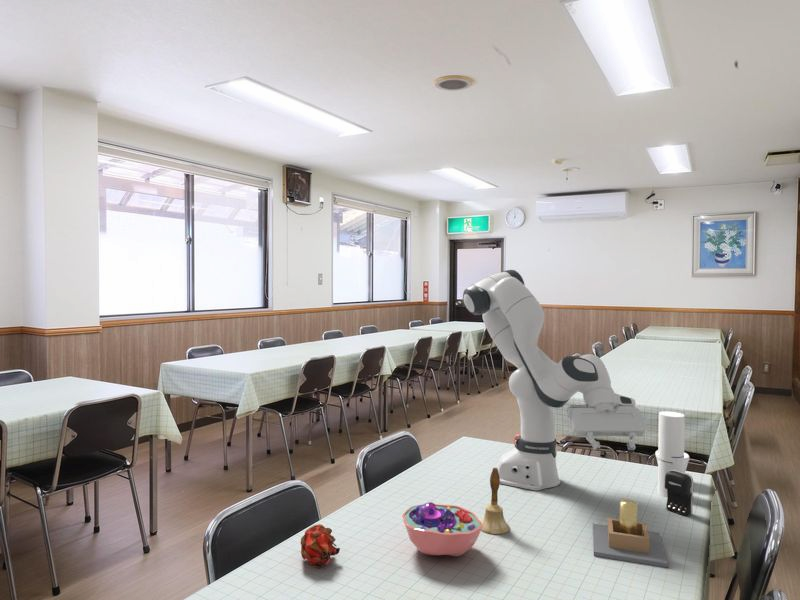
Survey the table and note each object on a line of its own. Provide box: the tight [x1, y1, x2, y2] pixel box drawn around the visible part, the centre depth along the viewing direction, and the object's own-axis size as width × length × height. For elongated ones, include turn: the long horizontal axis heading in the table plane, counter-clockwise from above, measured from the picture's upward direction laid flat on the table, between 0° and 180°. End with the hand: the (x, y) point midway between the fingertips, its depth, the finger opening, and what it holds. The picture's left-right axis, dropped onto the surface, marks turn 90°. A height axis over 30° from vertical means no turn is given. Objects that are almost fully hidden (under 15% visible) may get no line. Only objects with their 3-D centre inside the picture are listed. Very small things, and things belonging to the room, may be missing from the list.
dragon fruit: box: [300, 523, 341, 569], centre depth 124 cm, size 8×8×12 cm
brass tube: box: [619, 498, 638, 535], centre depth 131 cm, size 4×4×10 cm
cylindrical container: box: [657, 410, 686, 498], centre depth 164 cm, size 7×7×25 cm
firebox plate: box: [592, 517, 669, 568], centre depth 132 cm, size 16×16×4 cm
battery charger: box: [665, 470, 694, 517], centre depth 151 cm, size 7×4×11 cm, turn 33°
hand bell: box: [480, 467, 511, 535], centre depth 141 cm, size 8×8×16 cm
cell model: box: [401, 501, 482, 557], centre depth 129 cm, size 17×20×11 cm
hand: (614, 449), depth 143 cm, fingers open, 8 cm apart
